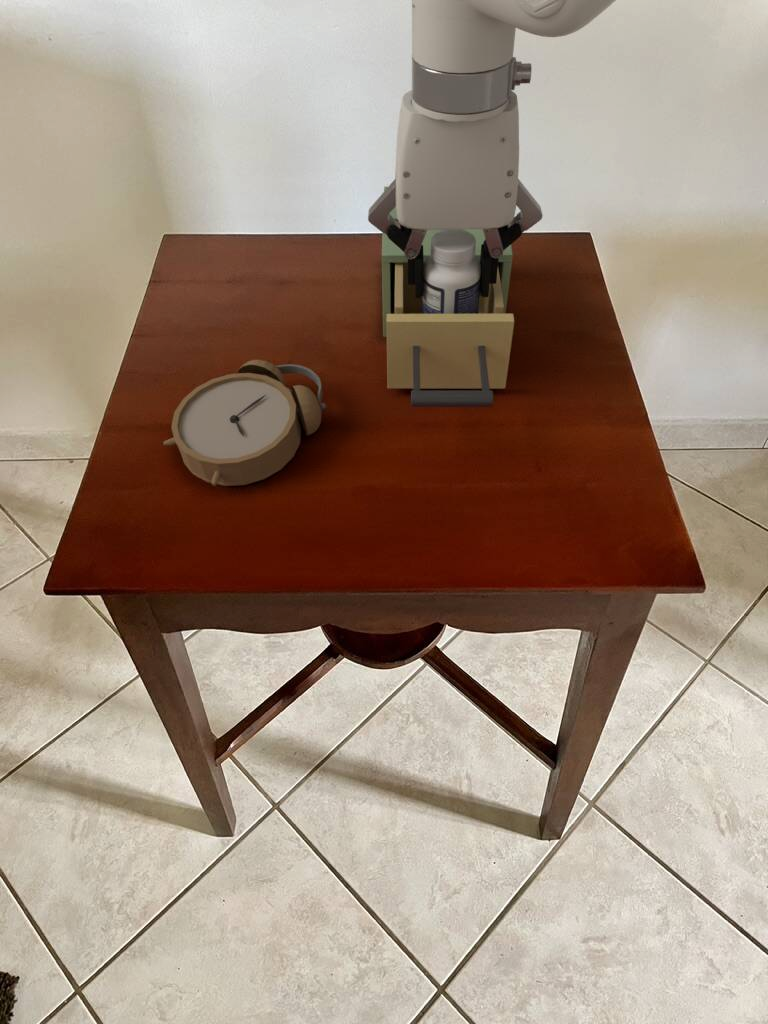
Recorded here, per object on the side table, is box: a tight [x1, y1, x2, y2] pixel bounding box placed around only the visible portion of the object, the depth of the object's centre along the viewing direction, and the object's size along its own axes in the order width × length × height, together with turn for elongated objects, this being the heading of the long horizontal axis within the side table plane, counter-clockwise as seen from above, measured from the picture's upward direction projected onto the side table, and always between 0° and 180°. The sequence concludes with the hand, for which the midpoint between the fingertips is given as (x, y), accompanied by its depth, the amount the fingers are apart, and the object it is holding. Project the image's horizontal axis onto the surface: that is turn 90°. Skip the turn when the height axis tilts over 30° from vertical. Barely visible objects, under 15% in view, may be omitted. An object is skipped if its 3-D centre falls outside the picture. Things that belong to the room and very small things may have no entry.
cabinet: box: [381, 186, 514, 338], centre depth 83 cm, size 14×13×10 cm
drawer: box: [386, 262, 515, 408], centre depth 74 cm, size 20×11×8 cm, turn 179°
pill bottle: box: [422, 229, 481, 314], centre depth 72 cm, size 5×5×10 cm
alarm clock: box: [163, 359, 327, 487], centre depth 71 cm, size 11×5×15 cm
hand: (451, 287), depth 72 cm, fingers closed on pill bottle, 5 cm apart
